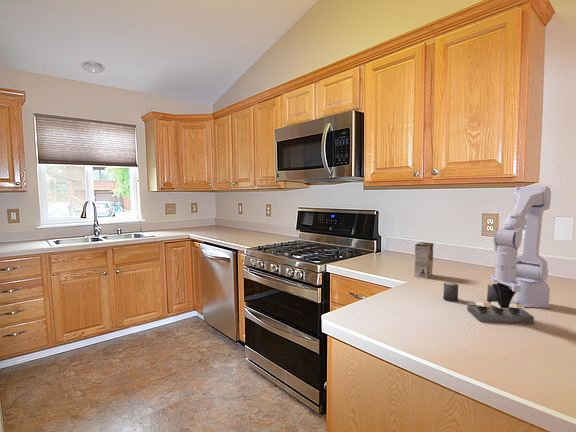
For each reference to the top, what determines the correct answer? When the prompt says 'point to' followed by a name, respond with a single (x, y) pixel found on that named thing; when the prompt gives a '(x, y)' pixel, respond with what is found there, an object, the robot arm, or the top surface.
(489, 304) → the paddle
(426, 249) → the coffee box
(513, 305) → the paddle
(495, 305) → the paddle mid
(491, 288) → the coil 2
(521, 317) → the panel
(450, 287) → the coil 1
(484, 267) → the top surface
